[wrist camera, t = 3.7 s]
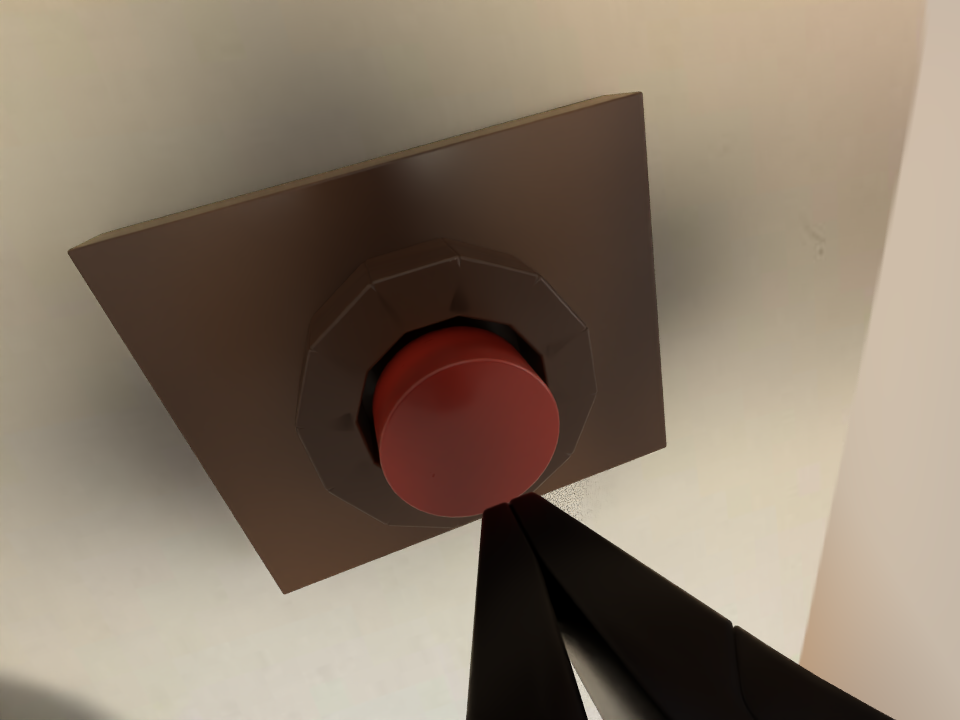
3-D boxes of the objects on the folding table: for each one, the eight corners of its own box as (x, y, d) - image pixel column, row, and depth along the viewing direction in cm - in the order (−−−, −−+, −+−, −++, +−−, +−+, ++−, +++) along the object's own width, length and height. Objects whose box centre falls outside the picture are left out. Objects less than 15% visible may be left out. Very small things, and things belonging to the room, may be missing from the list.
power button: (513, 303, 11) (544, 332, 9) (542, 436, 12) (572, 480, 11) (347, 357, 10) (351, 399, 9) (400, 489, 12) (411, 542, 10)
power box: (605, 95, 12) (696, 85, 9) (637, 419, 17) (705, 483, 14) (100, 233, 11) (11, 276, 8) (287, 550, 16) (278, 655, 12)
